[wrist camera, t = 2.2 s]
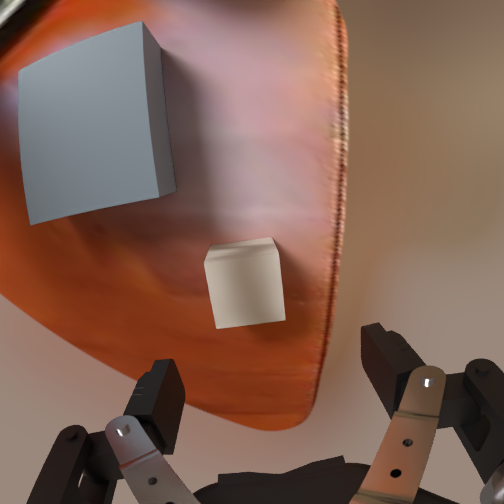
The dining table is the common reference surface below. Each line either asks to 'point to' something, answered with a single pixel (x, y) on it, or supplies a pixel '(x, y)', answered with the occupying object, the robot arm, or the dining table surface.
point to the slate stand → (94, 125)
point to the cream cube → (245, 283)
